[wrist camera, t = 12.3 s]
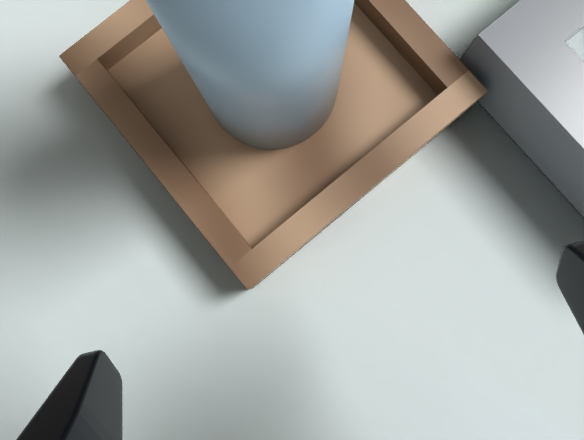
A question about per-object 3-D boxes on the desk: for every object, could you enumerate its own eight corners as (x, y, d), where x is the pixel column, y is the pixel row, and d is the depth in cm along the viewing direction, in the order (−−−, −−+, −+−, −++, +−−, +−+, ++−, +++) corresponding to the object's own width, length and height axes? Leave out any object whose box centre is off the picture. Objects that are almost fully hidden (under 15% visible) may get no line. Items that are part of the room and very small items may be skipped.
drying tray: (253, 288, 18) (247, 290, 17) (81, 75, 19) (58, 55, 18) (470, 107, 19) (487, 90, 17) (291, -90, 20) (290, -125, 18)
